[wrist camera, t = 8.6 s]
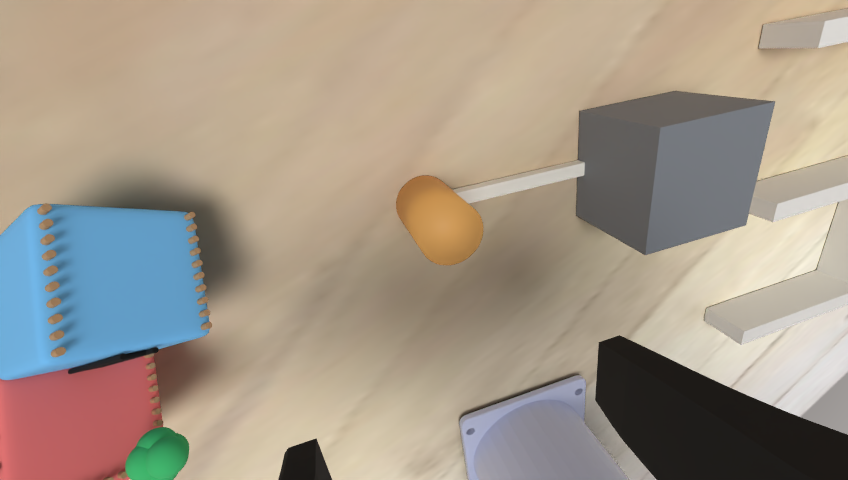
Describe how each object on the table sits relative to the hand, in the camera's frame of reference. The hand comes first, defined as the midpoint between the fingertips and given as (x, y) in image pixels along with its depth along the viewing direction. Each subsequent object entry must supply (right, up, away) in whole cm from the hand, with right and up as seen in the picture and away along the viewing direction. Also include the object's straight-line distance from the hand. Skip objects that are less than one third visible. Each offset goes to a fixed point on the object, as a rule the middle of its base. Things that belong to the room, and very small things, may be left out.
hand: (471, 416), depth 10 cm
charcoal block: (+4, +7, +9) cm, 12 cm away
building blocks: (-15, +1, +6) cm, 16 cm away
